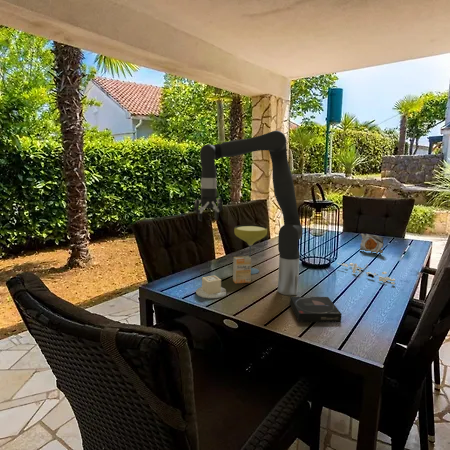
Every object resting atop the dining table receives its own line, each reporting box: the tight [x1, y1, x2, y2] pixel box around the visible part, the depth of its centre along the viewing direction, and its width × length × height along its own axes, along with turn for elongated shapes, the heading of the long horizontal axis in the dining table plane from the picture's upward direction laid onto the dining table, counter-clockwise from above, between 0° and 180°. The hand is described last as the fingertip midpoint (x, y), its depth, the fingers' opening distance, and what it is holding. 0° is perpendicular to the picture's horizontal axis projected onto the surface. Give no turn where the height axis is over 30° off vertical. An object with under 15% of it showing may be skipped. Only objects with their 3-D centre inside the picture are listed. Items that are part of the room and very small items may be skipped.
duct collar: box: [201, 274, 222, 294], centre depth 158 cm, size 7×7×6 cm
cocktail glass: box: [233, 224, 268, 275], centre depth 188 cm, size 18×18×25 cm
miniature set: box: [337, 262, 396, 285], centre depth 187 cm, size 6×35×12 cm
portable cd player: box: [289, 296, 342, 323], centre depth 140 cm, size 16×17×4 cm
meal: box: [359, 233, 385, 253], centre depth 230 cm, size 15×4×13 cm, turn 53°
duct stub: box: [195, 277, 227, 300], centre depth 158 cm, size 14×14×7 cm
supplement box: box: [232, 255, 252, 285], centre depth 173 cm, size 8×5×13 cm, turn 105°
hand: (208, 220), depth 166 cm, fingers open, 8 cm apart
